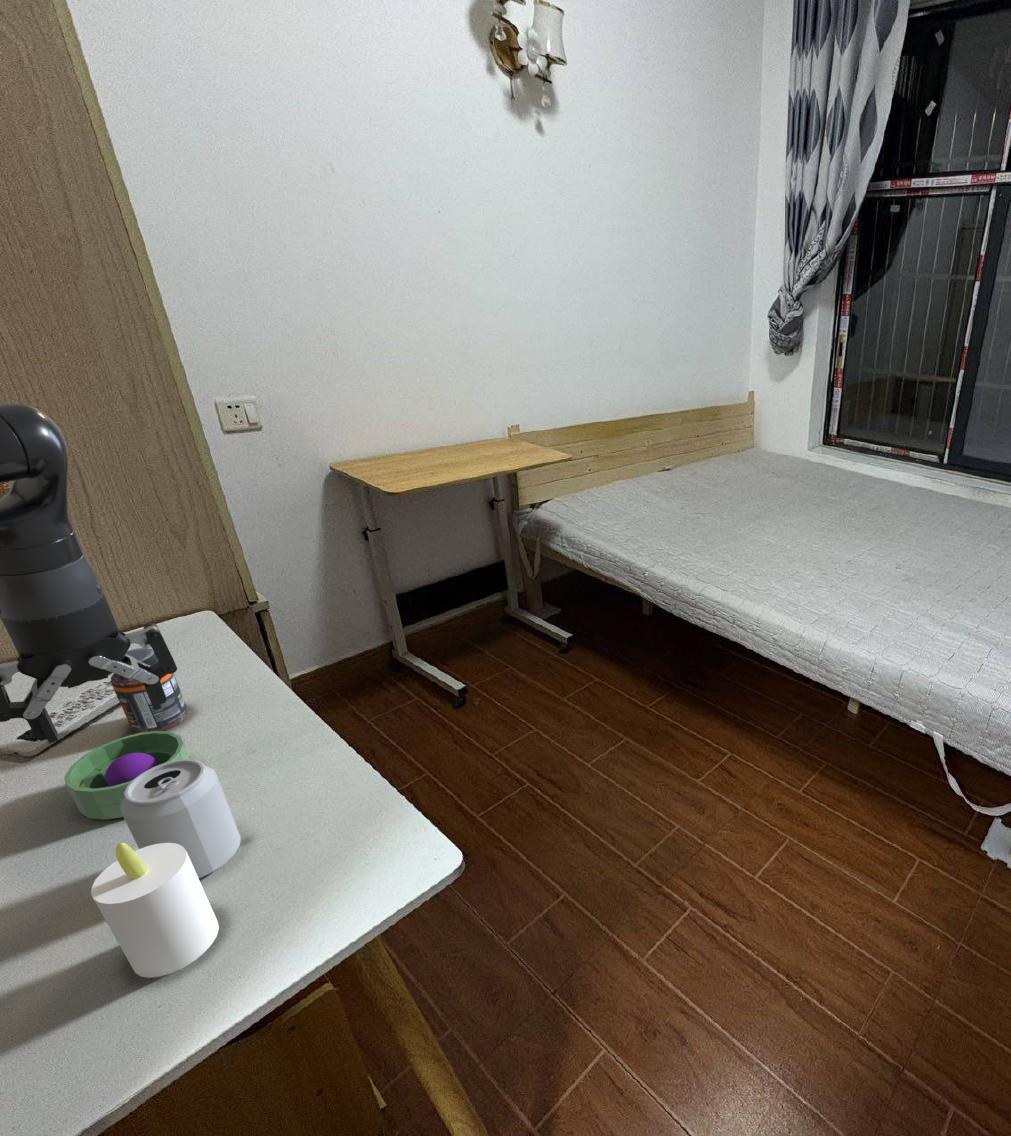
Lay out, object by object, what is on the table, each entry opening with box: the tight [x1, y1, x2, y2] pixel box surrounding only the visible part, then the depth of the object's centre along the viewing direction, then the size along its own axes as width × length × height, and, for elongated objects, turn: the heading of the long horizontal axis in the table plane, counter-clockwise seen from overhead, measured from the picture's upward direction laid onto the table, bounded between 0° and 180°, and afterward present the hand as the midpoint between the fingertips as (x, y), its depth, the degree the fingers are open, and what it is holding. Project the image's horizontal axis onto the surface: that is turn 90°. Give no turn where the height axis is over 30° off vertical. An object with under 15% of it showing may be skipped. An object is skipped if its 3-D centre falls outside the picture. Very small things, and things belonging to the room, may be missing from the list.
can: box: [120, 758, 242, 879], centre depth 66 cm, size 8×8×12 cm
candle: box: [90, 842, 220, 979], centre depth 57 cm, size 6×6×15 cm
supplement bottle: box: [110, 647, 189, 734], centre depth 84 cm, size 6×6×11 cm
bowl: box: [64, 730, 191, 821], centre depth 75 cm, size 10×10×5 cm
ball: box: [105, 753, 158, 787], centre depth 75 cm, size 5×5×5 cm
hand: (107, 722), depth 71 cm, fingers open, 8 cm apart
